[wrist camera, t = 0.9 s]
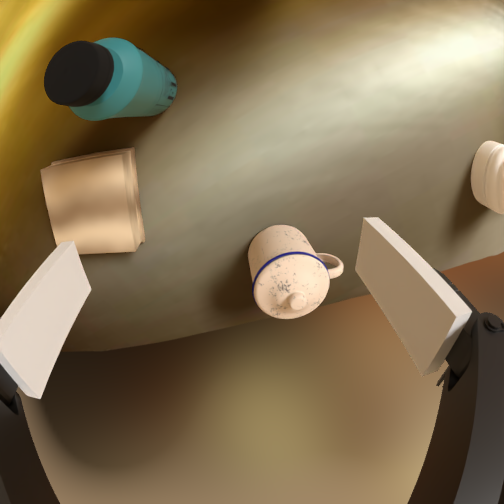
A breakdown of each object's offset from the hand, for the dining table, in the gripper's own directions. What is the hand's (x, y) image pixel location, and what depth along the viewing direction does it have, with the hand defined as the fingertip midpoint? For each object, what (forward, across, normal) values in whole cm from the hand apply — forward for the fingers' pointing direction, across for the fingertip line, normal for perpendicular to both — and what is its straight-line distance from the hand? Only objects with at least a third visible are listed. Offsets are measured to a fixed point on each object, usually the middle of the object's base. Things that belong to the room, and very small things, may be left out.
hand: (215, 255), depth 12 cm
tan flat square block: (+23, -17, -4) cm, 29 cm away
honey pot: (+24, +49, 0) cm, 55 cm away
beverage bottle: (+24, -8, +9) cm, 27 cm away
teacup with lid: (+23, +8, -14) cm, 28 cm away
